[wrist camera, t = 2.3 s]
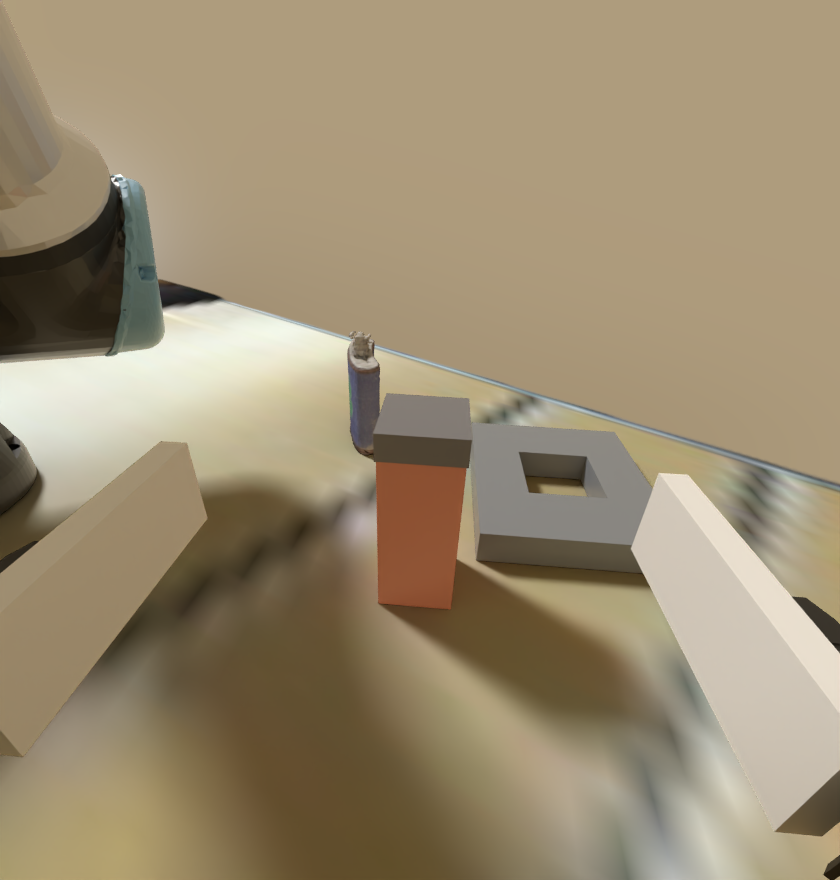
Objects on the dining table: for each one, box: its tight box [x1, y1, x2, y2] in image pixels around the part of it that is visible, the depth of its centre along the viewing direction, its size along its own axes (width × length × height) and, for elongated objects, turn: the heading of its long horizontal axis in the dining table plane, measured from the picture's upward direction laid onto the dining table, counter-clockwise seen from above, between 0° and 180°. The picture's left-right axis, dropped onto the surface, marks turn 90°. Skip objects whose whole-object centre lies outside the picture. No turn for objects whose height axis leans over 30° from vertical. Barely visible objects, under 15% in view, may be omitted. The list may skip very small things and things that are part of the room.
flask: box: [348, 331, 380, 455], centre depth 42 cm, size 9×3×11 cm, turn 10°
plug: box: [373, 393, 472, 609], centre depth 25 cm, size 5×5×12 cm
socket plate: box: [470, 423, 653, 573], centre depth 36 cm, size 14×16×2 cm
